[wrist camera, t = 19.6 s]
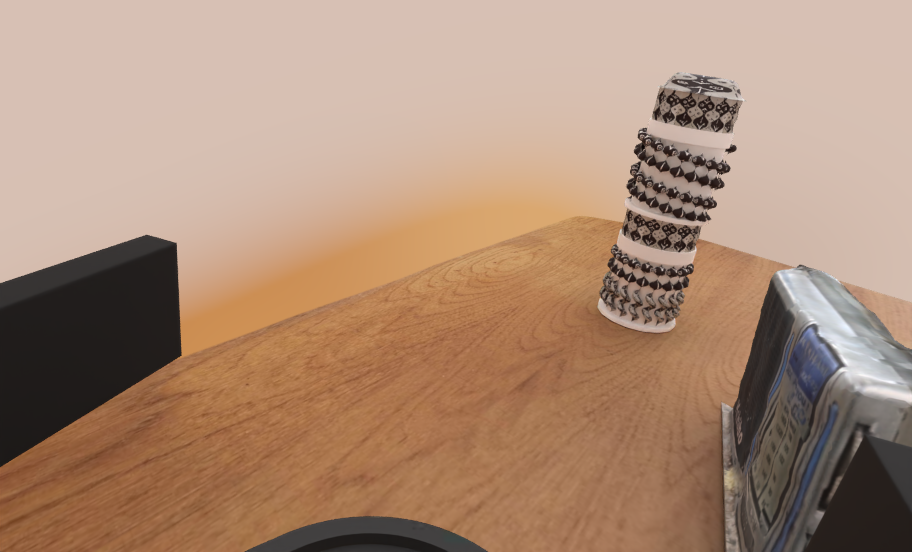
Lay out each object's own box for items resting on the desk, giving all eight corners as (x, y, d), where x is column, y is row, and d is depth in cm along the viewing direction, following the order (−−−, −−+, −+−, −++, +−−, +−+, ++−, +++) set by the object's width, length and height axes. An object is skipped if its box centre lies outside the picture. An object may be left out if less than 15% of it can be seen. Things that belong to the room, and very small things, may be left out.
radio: (721, 401, 48) (784, 235, 43) (837, 444, 45) (922, 269, 39) (678, 609, 29) (783, 354, 23) (877, 713, 25) (1057, 443, 20)
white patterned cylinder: (605, 289, 69) (664, 70, 59) (684, 314, 65) (760, 84, 55) (582, 313, 61) (645, 66, 52) (670, 343, 57) (755, 83, 48)
